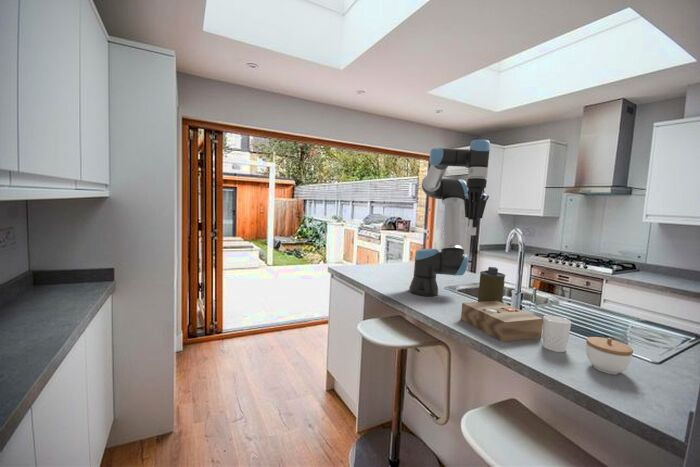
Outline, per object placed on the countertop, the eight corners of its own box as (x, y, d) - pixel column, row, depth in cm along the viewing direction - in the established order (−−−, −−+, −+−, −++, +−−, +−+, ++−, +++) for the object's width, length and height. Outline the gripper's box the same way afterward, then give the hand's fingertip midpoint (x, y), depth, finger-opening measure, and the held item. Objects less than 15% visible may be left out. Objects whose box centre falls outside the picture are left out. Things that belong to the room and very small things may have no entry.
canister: (505, 315, 140) (510, 270, 139) (481, 314, 141) (486, 269, 139) (495, 308, 151) (499, 265, 150) (472, 306, 151) (476, 264, 150)
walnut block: (460, 319, 132) (462, 302, 132) (495, 316, 138) (496, 300, 138) (503, 341, 112) (505, 322, 111) (541, 337, 118) (543, 318, 117)
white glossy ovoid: (481, 324, 125) (483, 309, 124) (490, 323, 126) (491, 308, 125) (489, 328, 121) (491, 312, 120) (497, 327, 122) (499, 311, 122)
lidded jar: (580, 367, 96) (583, 337, 95) (587, 357, 103) (590, 328, 102) (627, 383, 88) (632, 350, 87) (631, 370, 96) (635, 340, 95)
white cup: (540, 341, 114) (543, 313, 114) (567, 347, 110) (570, 318, 110) (540, 348, 108) (543, 319, 107) (568, 355, 104) (572, 325, 103)
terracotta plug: (500, 322, 128) (501, 307, 127) (507, 321, 129) (509, 307, 128) (508, 326, 124) (509, 311, 123) (516, 325, 125) (517, 310, 125)
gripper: (459, 178, 139) (454, 233, 141) (481, 176, 127) (475, 236, 129) (473, 180, 141) (468, 233, 143) (496, 178, 129) (490, 237, 131)
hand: (471, 235), depth 136 cm, fingers closed
